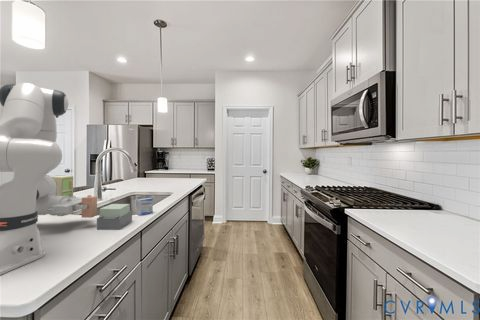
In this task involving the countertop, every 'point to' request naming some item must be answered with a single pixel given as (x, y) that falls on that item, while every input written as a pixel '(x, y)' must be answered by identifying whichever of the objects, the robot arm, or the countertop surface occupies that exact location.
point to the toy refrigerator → (64, 186)
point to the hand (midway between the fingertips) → (91, 205)
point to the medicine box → (144, 206)
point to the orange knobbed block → (92, 206)
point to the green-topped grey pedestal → (114, 217)
